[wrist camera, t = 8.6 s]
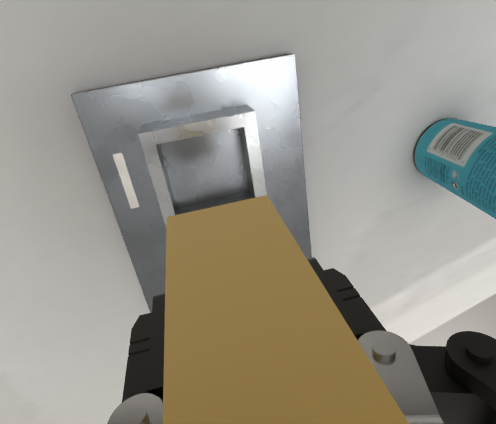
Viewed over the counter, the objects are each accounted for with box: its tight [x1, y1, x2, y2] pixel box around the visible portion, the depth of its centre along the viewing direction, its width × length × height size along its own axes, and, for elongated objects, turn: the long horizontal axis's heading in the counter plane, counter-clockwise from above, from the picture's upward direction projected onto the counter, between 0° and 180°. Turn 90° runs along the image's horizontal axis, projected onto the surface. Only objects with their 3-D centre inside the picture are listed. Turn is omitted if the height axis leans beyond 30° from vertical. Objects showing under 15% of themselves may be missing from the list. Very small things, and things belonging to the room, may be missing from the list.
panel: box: [71, 54, 312, 313], centre depth 27 cm, size 14×24×4 cm, turn 9°
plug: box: [163, 195, 409, 424], centre depth 10 cm, size 4×4×11 cm
